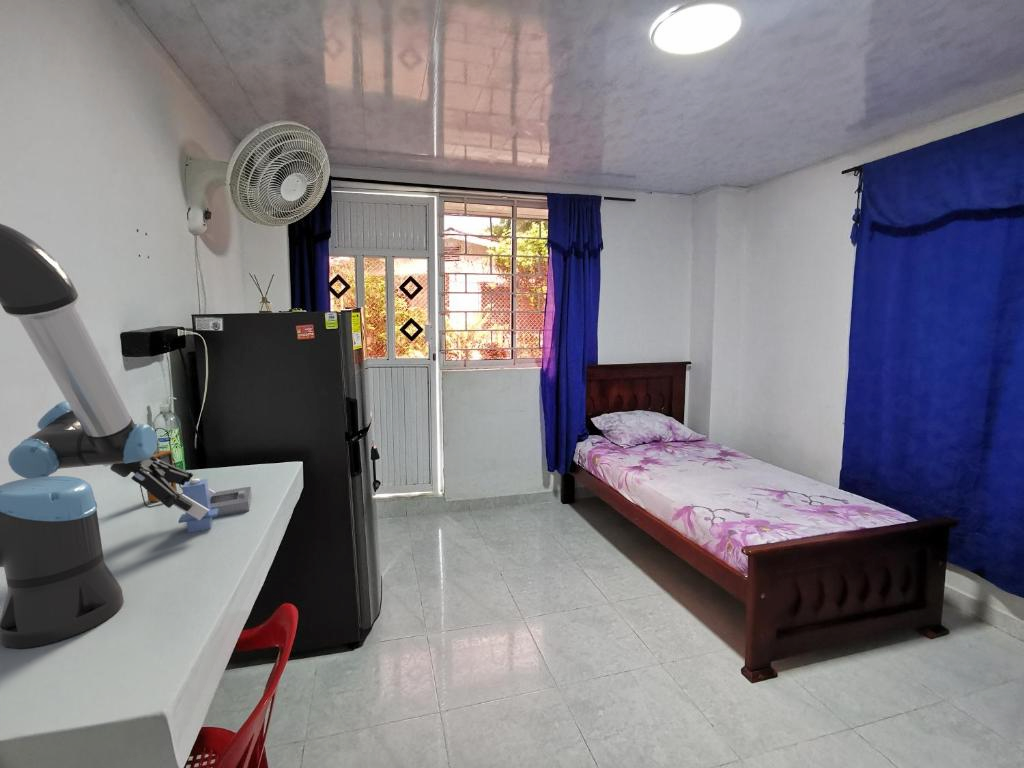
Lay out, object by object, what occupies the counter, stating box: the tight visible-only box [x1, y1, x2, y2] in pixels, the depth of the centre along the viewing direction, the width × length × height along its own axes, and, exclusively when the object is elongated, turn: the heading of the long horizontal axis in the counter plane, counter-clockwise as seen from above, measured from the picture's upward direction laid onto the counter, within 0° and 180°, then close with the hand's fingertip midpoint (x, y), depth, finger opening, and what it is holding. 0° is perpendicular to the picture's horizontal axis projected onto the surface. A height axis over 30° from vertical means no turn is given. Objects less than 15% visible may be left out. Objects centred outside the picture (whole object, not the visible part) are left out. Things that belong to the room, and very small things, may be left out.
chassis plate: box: [210, 486, 253, 517], centre depth 132 cm, size 14×12×3 cm
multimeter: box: [139, 427, 183, 508], centre depth 140 cm, size 15×10×20 cm
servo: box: [178, 478, 219, 534], centre depth 118 cm, size 4×8×12 cm, turn 115°
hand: (208, 505), depth 119 cm, fingers open, 13 cm apart
